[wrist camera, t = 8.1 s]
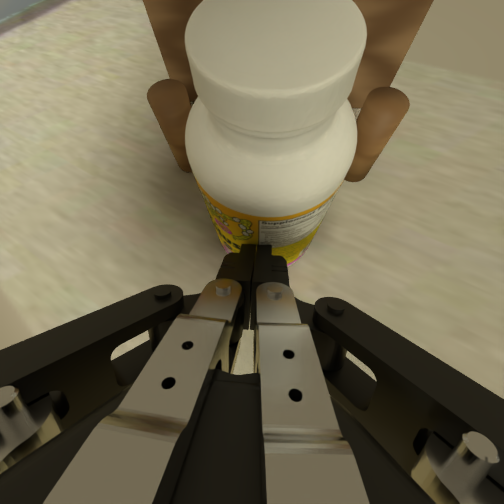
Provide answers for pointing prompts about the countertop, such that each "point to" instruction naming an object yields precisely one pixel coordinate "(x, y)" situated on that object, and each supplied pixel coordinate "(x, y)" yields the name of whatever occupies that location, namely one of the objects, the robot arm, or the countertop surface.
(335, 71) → the supplement bottle
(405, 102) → the dowel gate
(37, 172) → the countertop surface
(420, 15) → the walnut rail
